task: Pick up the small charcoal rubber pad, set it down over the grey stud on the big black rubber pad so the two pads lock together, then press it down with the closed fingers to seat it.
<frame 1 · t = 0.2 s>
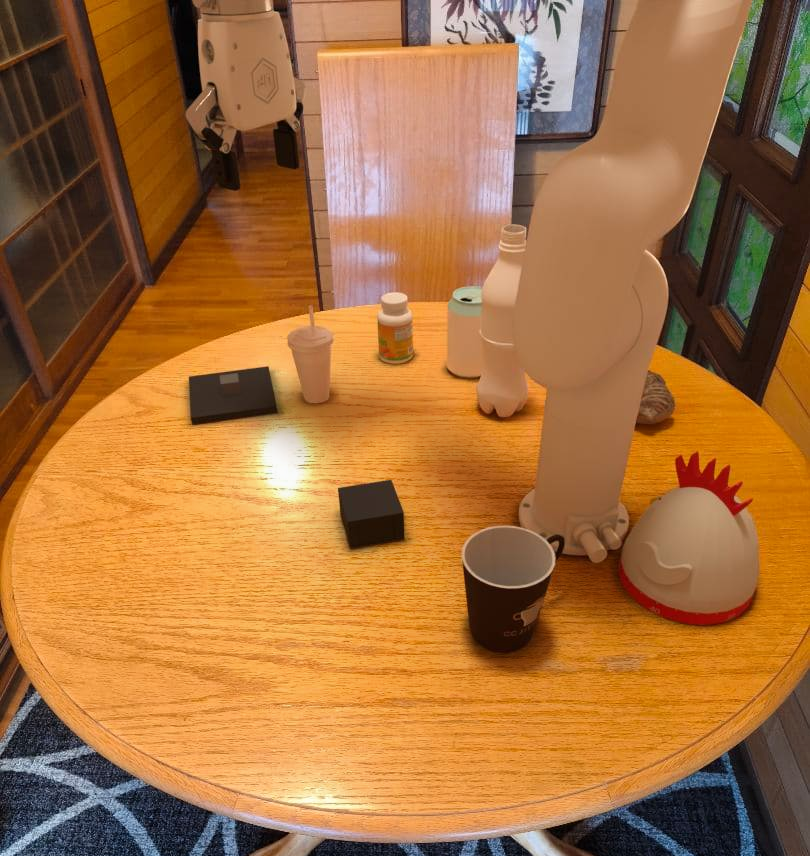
hand: (259, 177, 89), 31 cm above the table, tool pointing down, fingers open, 9 cm apart
water bottle: (500, 409, 109), on the table
coffee mug: (515, 627, 77), on the table
top pad: (371, 526, 89), on the table
seashell: (633, 418, 106), on the table
smoothie: (316, 398, 112), on the table
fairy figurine: (532, 355, 121), on the table
can: (469, 370, 117), on the table
kitchen timer: (684, 578, 82), on the table
base pad: (232, 397, 112), on the table
supplement bottle: (396, 357, 121), on the table
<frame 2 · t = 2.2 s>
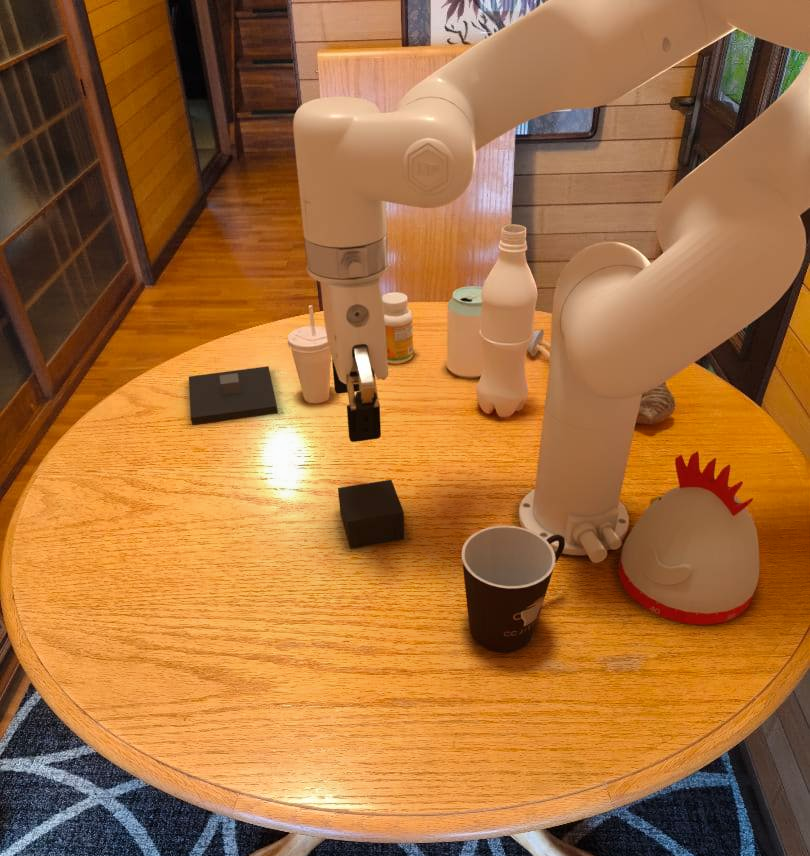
hand: (356, 413, 81), 14 cm above the table, tool pointing down, fingers open, 9 cm apart
nothing on the table moved.
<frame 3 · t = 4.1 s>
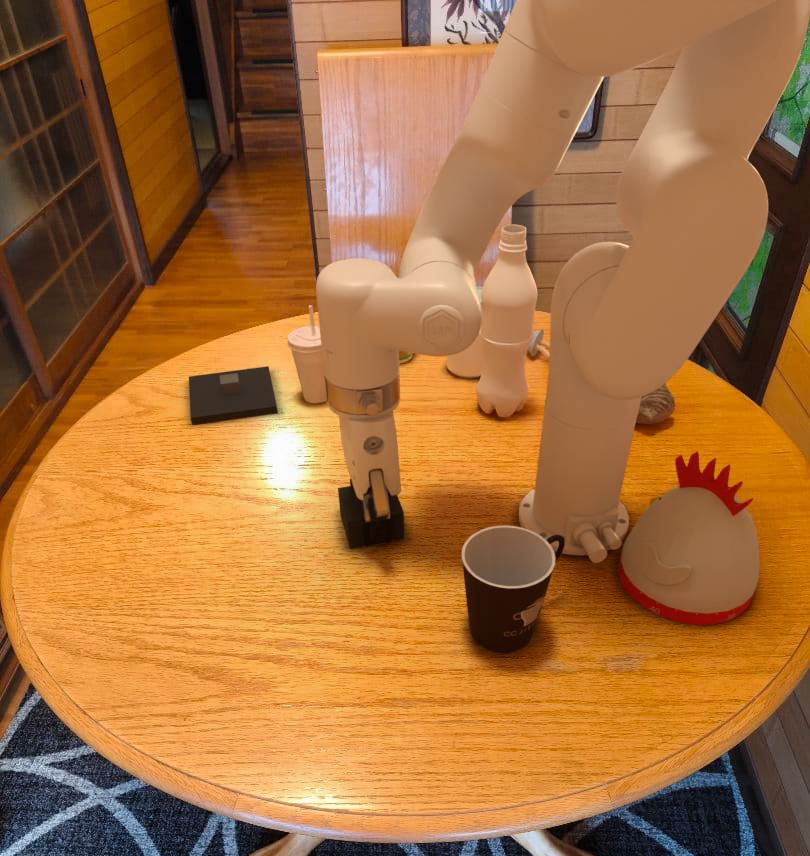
hand: (371, 522, 89), 1 cm above the table, tool pointing down, fingers closed on top pad, 6 cm apart
top pad: (371, 526, 89), on the table, touching gripper
everything else where it was.
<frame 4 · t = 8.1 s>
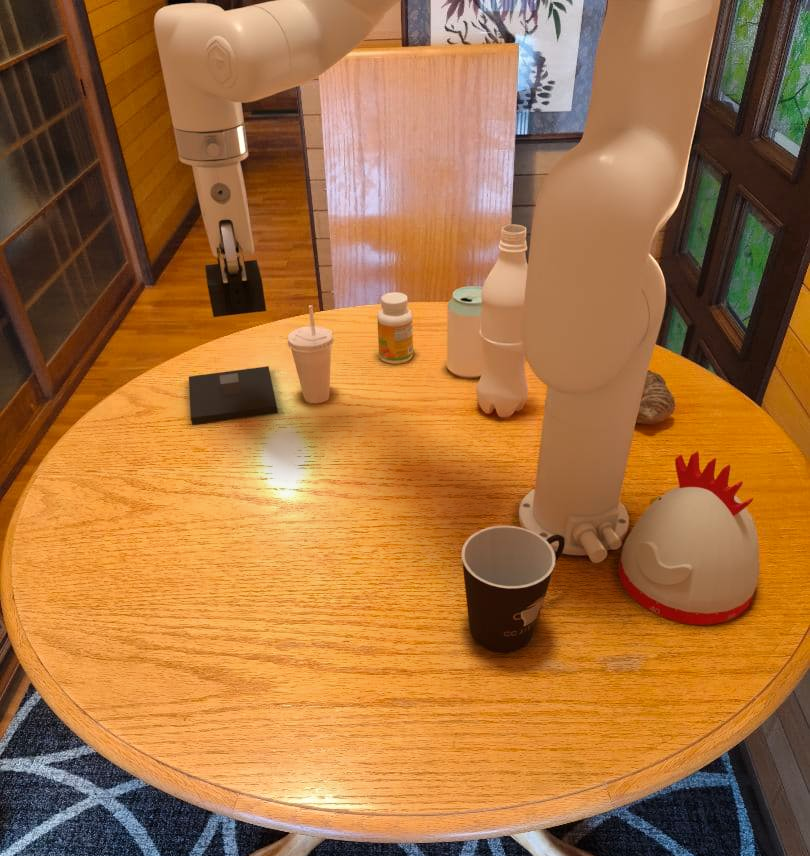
hand: (237, 298, 95), 18 cm above the table, tool pointing down, fingers closed on top pad, 6 cm apart
top pad: (238, 303, 95), point 17 cm above the table, touching gripper
everything else where it was.
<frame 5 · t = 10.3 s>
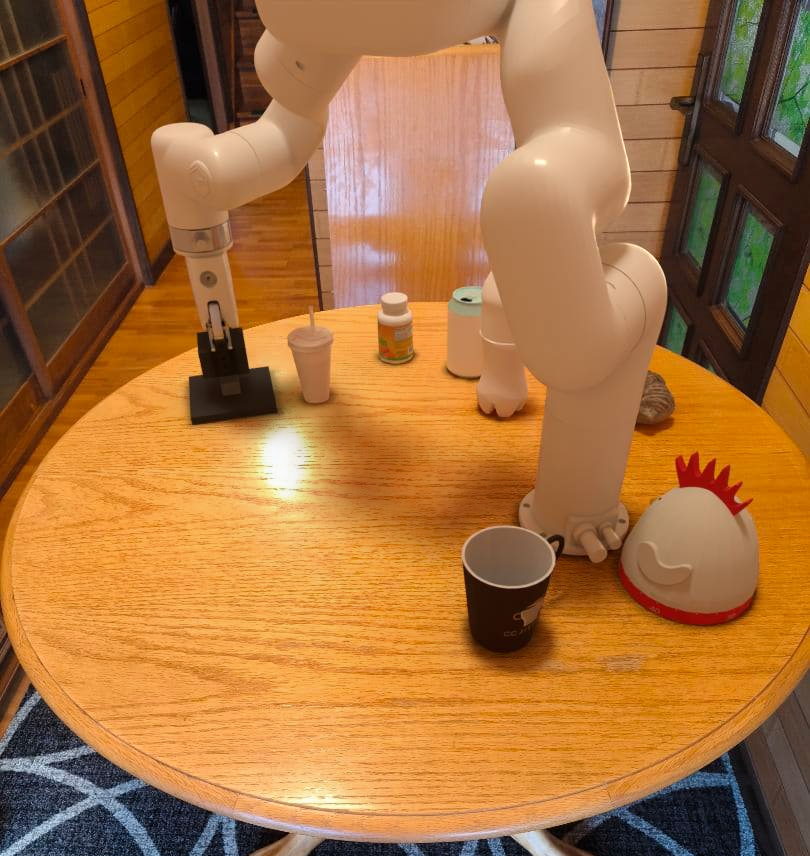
hand: (225, 361, 108), 6 cm above the table, tool pointing down, fingers closed on top pad, 6 cm apart
top pad: (225, 365, 109), point 5 cm above the table, touching gripper
everything else where it was.
when the fingers open (2 cm above the table, at t = 12.0 s): top pad stays where it is, resting on base pad.
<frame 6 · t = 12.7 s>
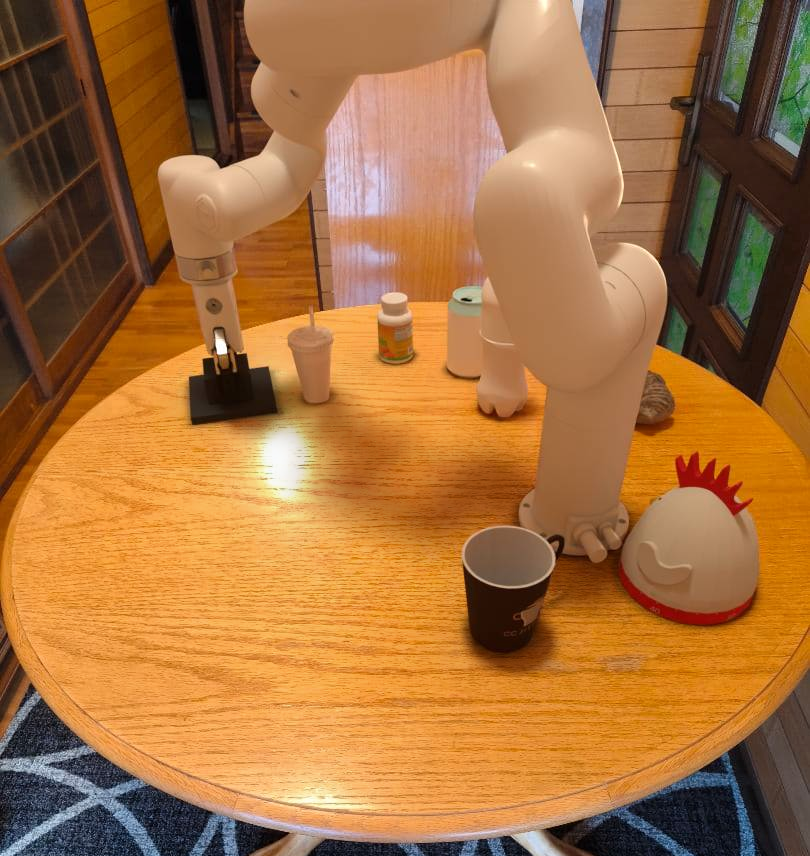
hand: (229, 380, 110), 3 cm above the table, tool pointing down, fingers open, 9 cm apart
top pad: (230, 390, 111), point 1 cm above the table, touching base pad
everything else where it was.
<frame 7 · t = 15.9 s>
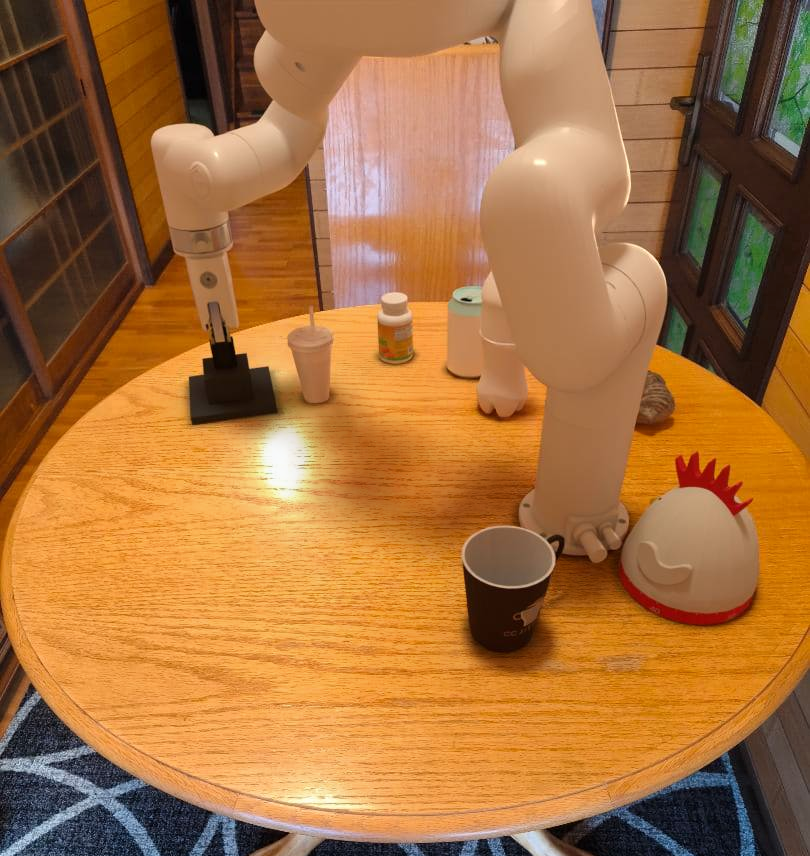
hand: (226, 365, 109), 5 cm above the table, tool pointing down, fingers closed
top pad: (230, 390, 111), point 1 cm above the table, touching base pad, gripper
everything else where it was.
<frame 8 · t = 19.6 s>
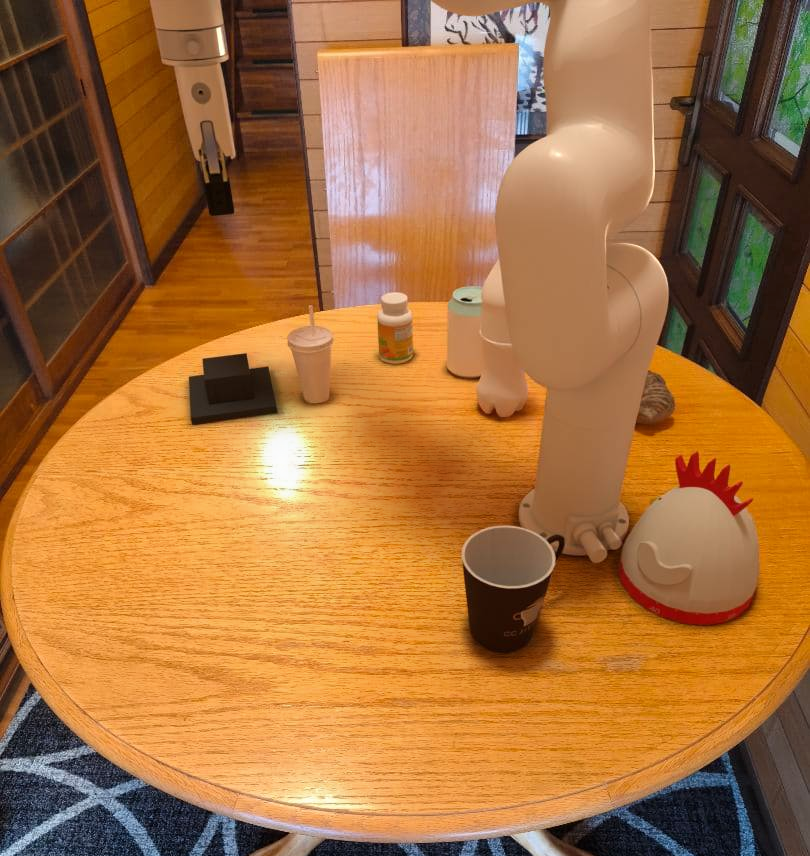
hand: (221, 212, 98), 25 cm above the table, tool pointing down, fingers closed
top pad: (230, 390, 111), point 1 cm above the table, touching base pad
everything else where it was.
at the end: top pad 0.1 cm off-centre on the base pad, point 1.2 cm above the base pad's base; top pad tilted 0°; the gripper is holding nothing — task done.
